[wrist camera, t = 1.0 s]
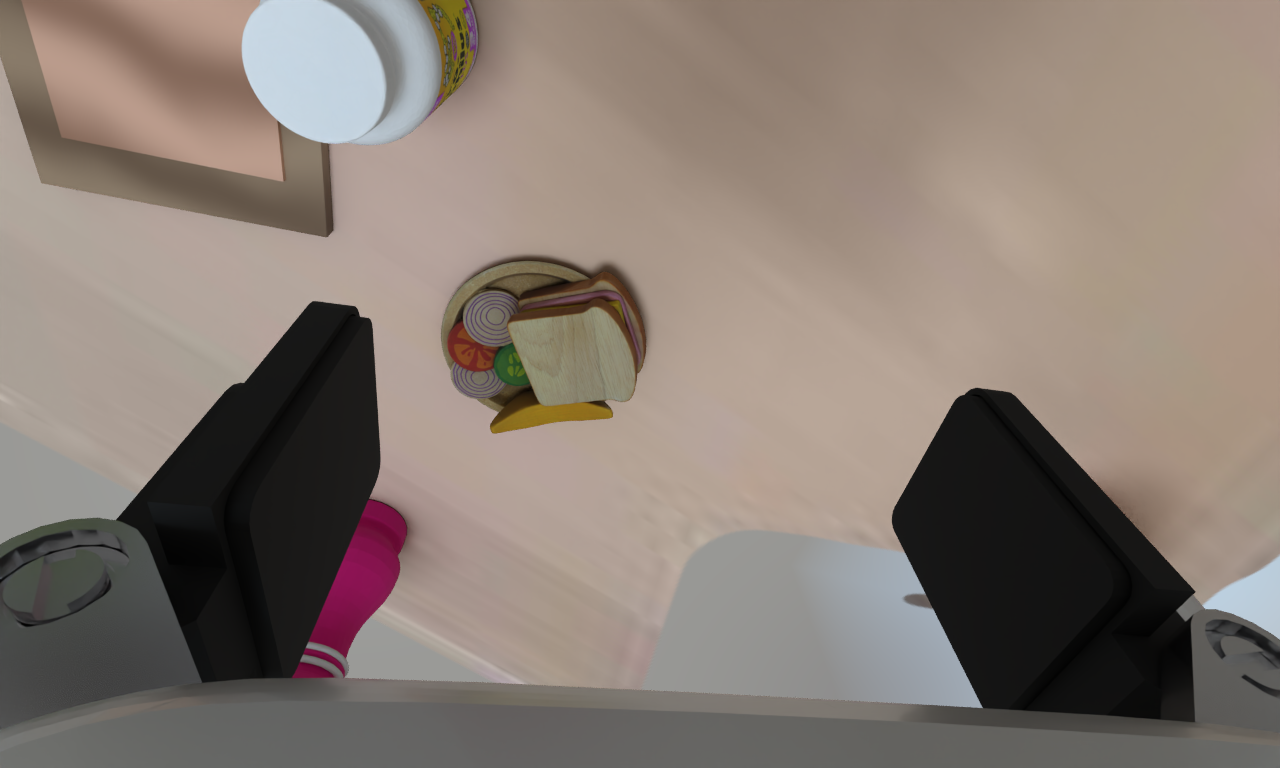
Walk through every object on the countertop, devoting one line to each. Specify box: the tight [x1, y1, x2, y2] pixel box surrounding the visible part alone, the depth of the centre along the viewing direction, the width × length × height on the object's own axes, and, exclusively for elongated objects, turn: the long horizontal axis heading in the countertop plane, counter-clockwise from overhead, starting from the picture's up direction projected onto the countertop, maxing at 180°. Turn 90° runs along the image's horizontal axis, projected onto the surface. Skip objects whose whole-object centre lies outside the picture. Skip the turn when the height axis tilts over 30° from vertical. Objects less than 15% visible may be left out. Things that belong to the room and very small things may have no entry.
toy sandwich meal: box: [441, 261, 646, 433], centre depth 41 cm, size 12×14×5 cm
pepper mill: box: [292, 500, 407, 678], centre depth 45 cm, size 7×7×20 cm
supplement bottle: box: [242, 0, 478, 145], centre depth 27 cm, size 7×7×13 cm
